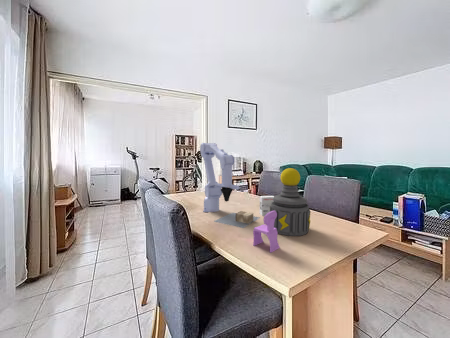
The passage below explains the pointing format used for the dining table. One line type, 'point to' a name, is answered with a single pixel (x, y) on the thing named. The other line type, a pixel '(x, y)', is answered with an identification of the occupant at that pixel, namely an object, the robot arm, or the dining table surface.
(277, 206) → the decorative lamp
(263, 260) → the dining table surface
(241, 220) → the maple block
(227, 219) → the slate board
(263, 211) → the ink box
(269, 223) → the toy chair
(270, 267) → the dining table surface
